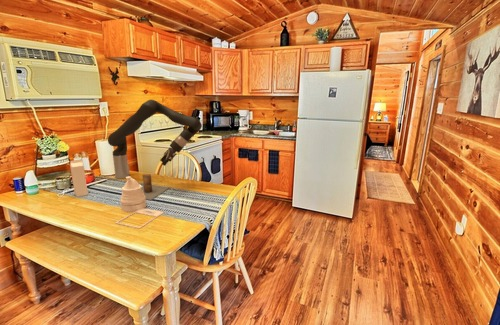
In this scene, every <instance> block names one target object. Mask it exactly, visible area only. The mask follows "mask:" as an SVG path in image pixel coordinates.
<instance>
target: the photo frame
mask: <svg viewBox="0 0 500 325" xmlns="http://www.w3.org/2000/svg"><path fill="white" fill-rule="evenodd" d="M134 214H137V215H138V214H139V215H145V216H150V217H153V218H151V219H149V220H148V221H146V222H145V223H144V224H142V225H140V226H136V225H131V224H128V223H127V224H126V223H121V222H122V221H124V220H126V219H128V218H129V217H131V216H134ZM164 214H165V212H164V211H161V210H160V211H159V210H155V209H149V208H142V209H139V210H137V211H134V212H131V213H130V214H128V215H126V216H125V217H122V218H121V219H119V220H118V221H116V222H114V224H115V225H120V226H126V227H129V228H134V229H142V228H144V227H145V226H146V225H148V224H149V223H151V222H153V221H154V220H156V219H157V218H158V217H161V216H162V215H164Z"/></svg>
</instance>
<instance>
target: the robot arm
mask: <svg viewBox="0 0 500 325" xmlns="http://www.w3.org/2000/svg"><path fill="white" fill-rule="evenodd" d="M156 114H161V115H164V116H165V117H167V119H169V121H171V122H173V123H175V124H178V125H181V126H186V127H187V128H184V129H183V130H182V131H181V132H180V134H179V135H177V136H176V137H175V139H173V141H172V142H171V143H170V144H169V148H168V149H167V150H166V151H165V152H164V153H163V156H162V157H161V158H160V159H159V160H160V162H161V165H163V166H166V165H168V163H169V162H172V160H174V158H175V157H176V156H177V153H180V152H181V151H182V150H183V149H184V148H185V147H186V145H187V144H188V143H189V141H191V139H192V138H193V137H194V136H195V135H196V134H197V133H199V131H201V130H202V127H203V126H202V122H201V121H200V119H198V118H197V117H195V116H190V115H187V114H184V113H181V112H179V111H176V110H174V109H171V108H170V107H168V106H166V105H164V104H162V103H160V102H159V101H157V100H155V99H148V100H146V101H145V102H143V103H142V104H141V105H140V106H139V107H138V109H137V111H136V112H135V113H134V114H132V115H130V117H128V118H127V119H125V121H124V122H123V123H122V124H121V125H120V126H119V127H117V129H116V130H114V131H113V132H111V133H110V134H109V135H108V138H107V143H108V145H109V146H111V147H116V148H115V149H114V150H113V151H112V161H113V166H114V168H113V169H114V175H115V178H116V179H126V177H128V176H131V175H130V174H131V173H130V164H129V163H128V156H127V155H128V154H127V152H128V141H127V140H128V139H127V137H129V136H131V135H133V134H134V133H136V132H137V131H138V130H139V129H140V128H141V127H142V125H143V123H144V122H146V120H148V119H150V118H151V117H153V116H154V115H156Z"/></svg>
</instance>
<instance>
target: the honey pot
mask: <svg viewBox="0 0 500 325" xmlns="http://www.w3.org/2000/svg"><path fill="white" fill-rule="evenodd" d="M125 179H126V182H125V183H124V186H122V187H121V190H122V193H121V196H120V199H119V202H120V209H121V211H123V212H126V213H133V212H135V211H137V210H139V209H142V208H144V209H146V207H147V200H146V197H145V195H144V193H143V190H142V189H141V188H142V187H143V186H142V185H141V184H140V183H138V181H137V180H136V179H134V178H133V177H132V176H131V175H129V176H128V177H126V178H125Z"/></svg>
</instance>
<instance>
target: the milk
mask: <svg viewBox="0 0 500 325" xmlns="http://www.w3.org/2000/svg"><path fill="white" fill-rule="evenodd" d="M69 164H70V165H69V166H70V173H71V179H72V185H73V190H74V192H73V193H74V195H75V197H76V198H77V197H79V198H80V197H83V196H87V195H89V192H88V186H87V180H86V173H85V166H84V163H83V160H82V159H74V160H70V161H69Z"/></svg>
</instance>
